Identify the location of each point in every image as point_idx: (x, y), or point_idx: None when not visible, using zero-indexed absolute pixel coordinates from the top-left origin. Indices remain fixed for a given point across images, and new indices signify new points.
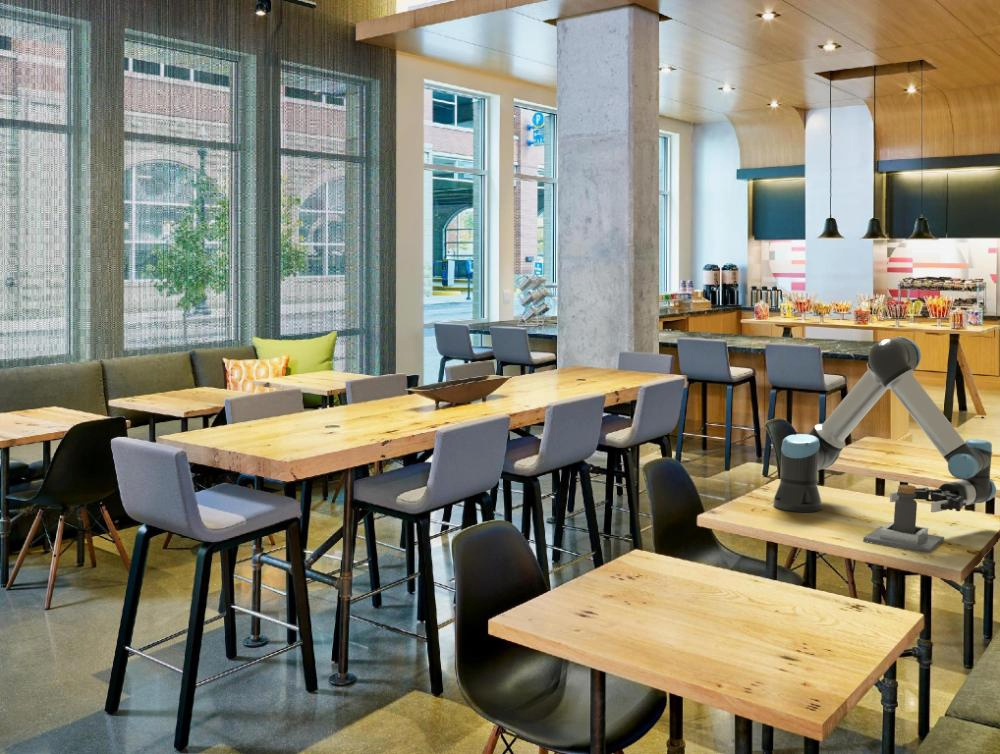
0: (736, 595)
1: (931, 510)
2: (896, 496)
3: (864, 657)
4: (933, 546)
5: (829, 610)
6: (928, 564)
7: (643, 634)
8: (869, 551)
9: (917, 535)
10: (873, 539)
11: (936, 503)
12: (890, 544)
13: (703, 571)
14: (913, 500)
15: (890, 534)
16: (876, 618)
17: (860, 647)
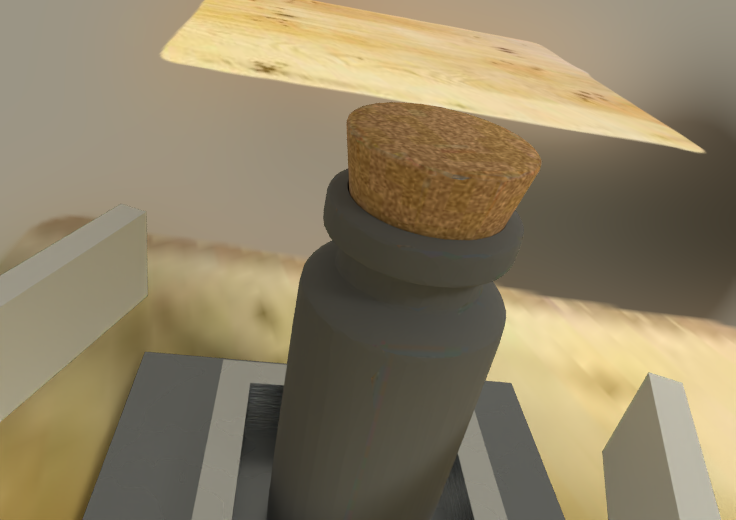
0: (436, 77)
1: (142, 281)
2: (637, 472)
3: (213, 13)
4: (116, 431)
5: (298, 61)
6: None
7: (428, 34)
8: None
9: (229, 361)
10: None
11: (89, 230)
12: None
13: (550, 117)
14: (337, 258)
15: None
16: (224, 52)
17: (223, 21)
